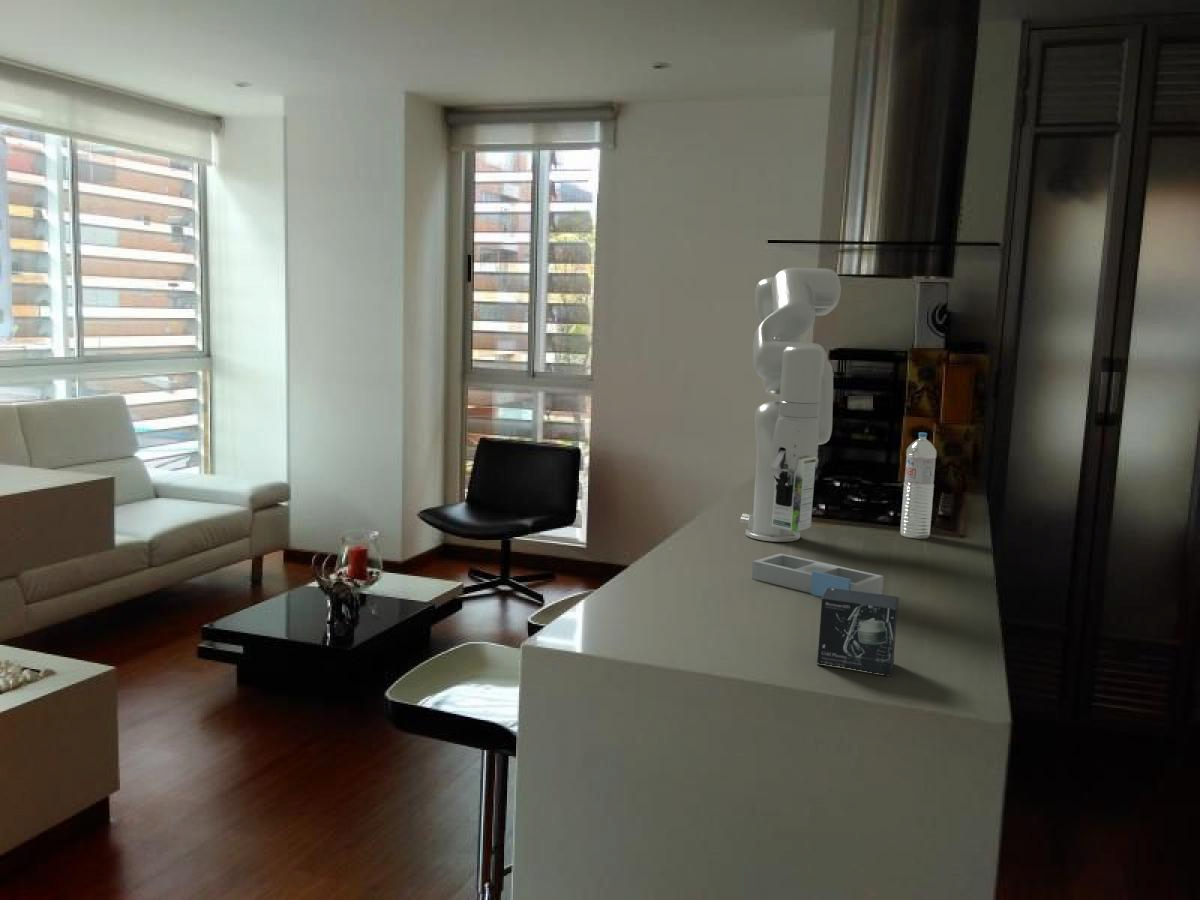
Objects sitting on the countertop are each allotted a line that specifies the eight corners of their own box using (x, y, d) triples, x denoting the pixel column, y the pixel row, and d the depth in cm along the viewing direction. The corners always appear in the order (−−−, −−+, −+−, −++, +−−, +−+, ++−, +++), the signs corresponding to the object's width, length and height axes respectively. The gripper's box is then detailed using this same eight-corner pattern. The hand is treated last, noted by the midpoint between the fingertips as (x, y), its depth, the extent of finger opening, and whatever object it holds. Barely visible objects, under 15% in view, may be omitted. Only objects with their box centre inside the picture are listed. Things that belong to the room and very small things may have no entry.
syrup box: (770, 527, 187) (775, 453, 184) (786, 522, 191) (791, 450, 188) (795, 533, 183) (801, 458, 180) (812, 527, 187) (817, 454, 184)
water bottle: (931, 540, 226) (940, 435, 223) (901, 538, 227) (909, 433, 224) (927, 534, 233) (936, 432, 229) (898, 532, 234) (906, 430, 231)
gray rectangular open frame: (750, 579, 187) (751, 557, 186) (779, 570, 194) (780, 548, 194) (854, 605, 172) (856, 581, 171) (882, 594, 179) (883, 571, 179)
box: (815, 666, 141) (820, 597, 139) (822, 652, 147) (826, 586, 145) (891, 678, 137) (896, 607, 135) (894, 663, 143) (899, 595, 141)
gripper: (805, 405, 192) (799, 493, 195) (757, 412, 179) (751, 506, 182) (839, 409, 187) (832, 499, 190) (791, 416, 174) (785, 513, 177)
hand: (792, 501), depth 186 cm, fingers closed on syrup box, 5 cm apart
